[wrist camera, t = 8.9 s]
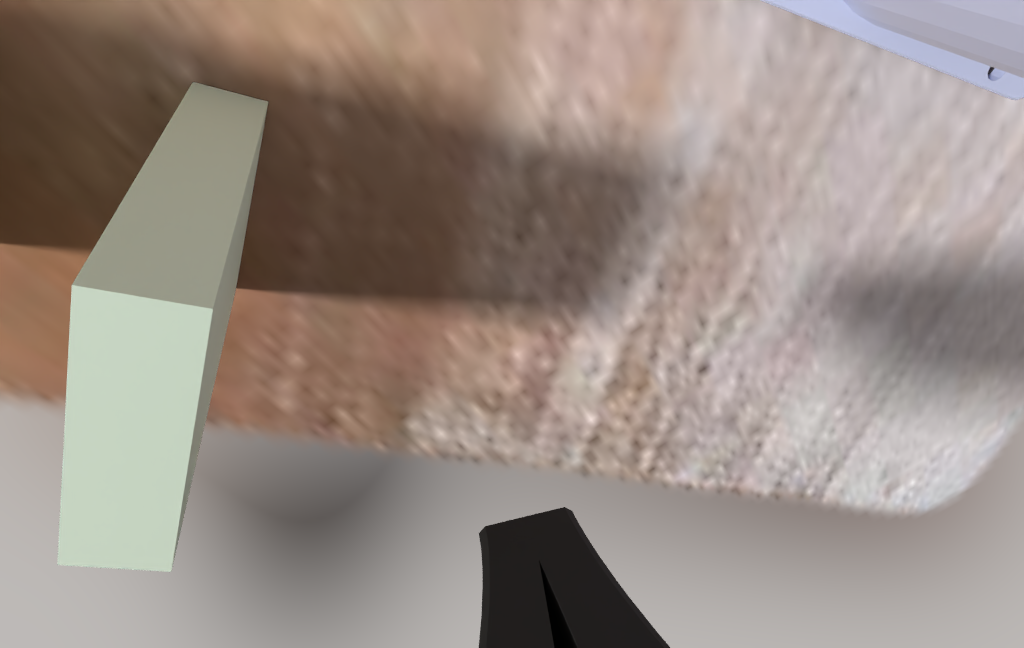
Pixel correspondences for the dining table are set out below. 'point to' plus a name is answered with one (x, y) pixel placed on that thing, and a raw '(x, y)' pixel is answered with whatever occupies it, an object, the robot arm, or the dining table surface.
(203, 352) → the sage domino
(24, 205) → the dining table surface
